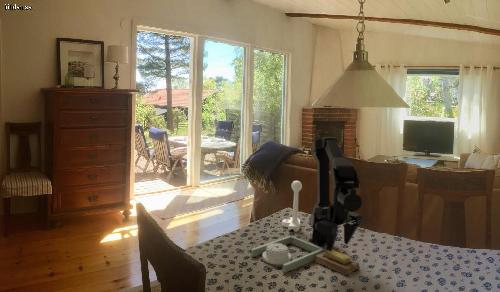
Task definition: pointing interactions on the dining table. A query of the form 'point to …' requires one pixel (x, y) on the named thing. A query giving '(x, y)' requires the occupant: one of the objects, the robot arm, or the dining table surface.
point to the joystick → (294, 209)
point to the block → (337, 257)
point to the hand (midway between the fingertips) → (338, 247)
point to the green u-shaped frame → (297, 242)
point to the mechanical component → (276, 254)
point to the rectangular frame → (337, 264)
